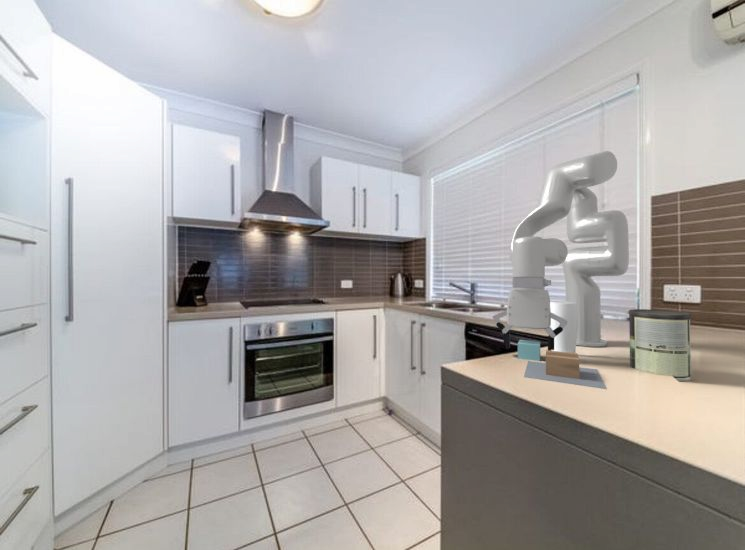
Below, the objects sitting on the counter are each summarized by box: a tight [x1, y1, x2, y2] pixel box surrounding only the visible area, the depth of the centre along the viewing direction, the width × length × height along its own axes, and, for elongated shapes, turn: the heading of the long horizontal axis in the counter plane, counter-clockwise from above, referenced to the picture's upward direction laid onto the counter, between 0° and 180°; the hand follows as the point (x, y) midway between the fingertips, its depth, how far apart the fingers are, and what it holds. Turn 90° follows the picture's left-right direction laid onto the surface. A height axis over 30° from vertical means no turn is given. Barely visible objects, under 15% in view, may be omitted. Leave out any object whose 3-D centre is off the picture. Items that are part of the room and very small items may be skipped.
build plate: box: [523, 360, 608, 390], centre depth 67 cm, size 14×14×1 cm
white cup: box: [550, 300, 578, 353], centre depth 84 cm, size 7×7×15 cm
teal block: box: [517, 339, 541, 362], centre depth 80 cm, size 5×5×5 cm
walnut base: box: [545, 349, 580, 379], centre depth 67 cm, size 6×6×4 cm
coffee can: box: [628, 308, 692, 382], centre depth 69 cm, size 10×10×14 cm
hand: (528, 350), depth 79 cm, fingers open, 9 cm apart
